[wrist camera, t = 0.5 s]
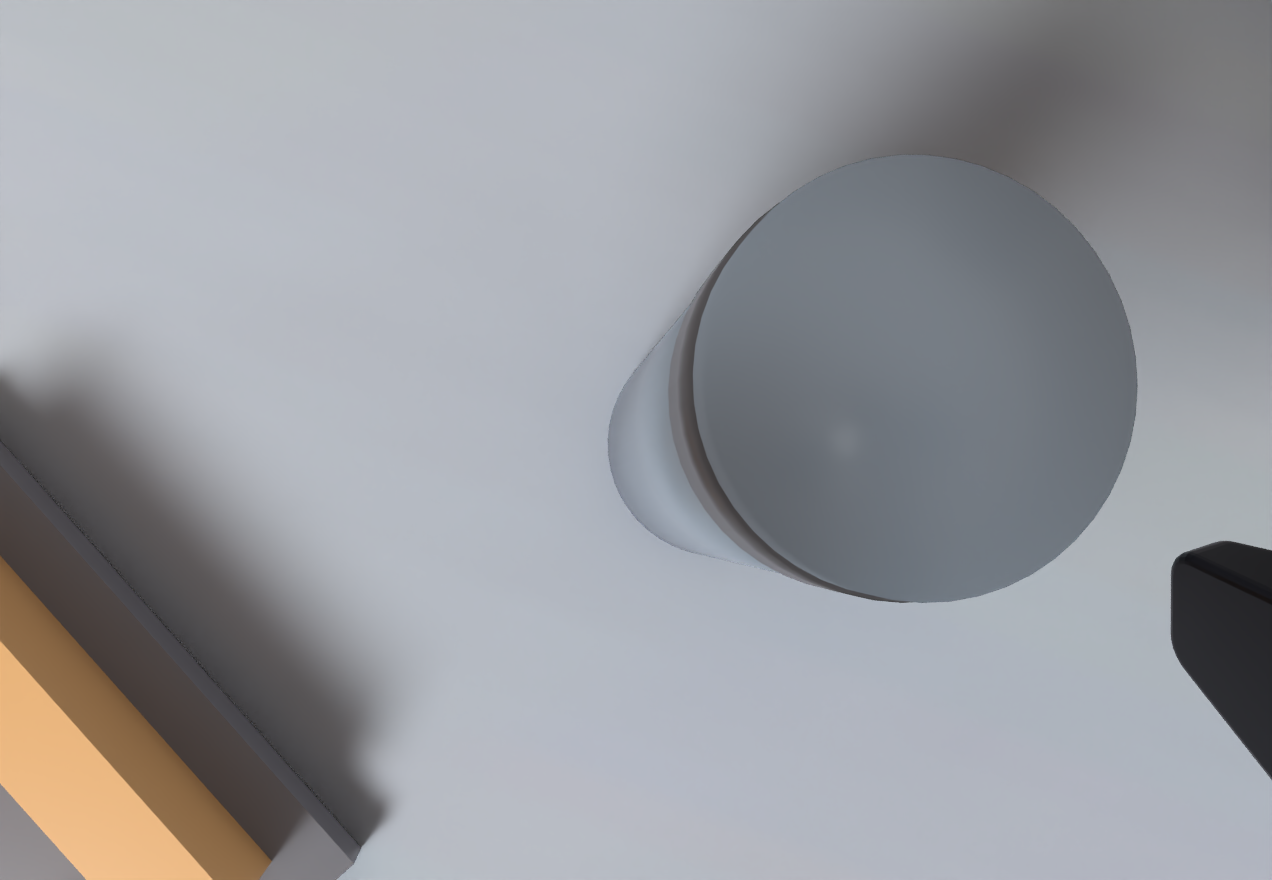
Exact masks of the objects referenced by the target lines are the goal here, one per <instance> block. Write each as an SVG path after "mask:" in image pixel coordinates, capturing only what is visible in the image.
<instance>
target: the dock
mask: <svg viewBox="0 0 1272 880" xmlns="http://www.w3.org/2000/svg"><path fill="white" fill-rule="evenodd" d="M360 849H361V847H360V846H359V845H358V844H357V842H356V841H355V840H354V839H353V838H352V837H351V836H350V835H349V833H348V832H347V831H346V830H345V829H344V828H343V827H342V826H341V824H340V823H339V822H338V821H337V820H336V819H335V818H334V817H333V815H332V814H331V813H330V812H329V811H328V810H327V809H326V808H325V806H324V805H323V804H322V803H321V802H320V801H319V800H318V798H317V797H316V796H315V795H314V794H313V793H312V792H311V791H310V789H309V788H308V787H307V786H306V785H305V784H304V783H303V782H302V780H301V779H300V778H299V777H298V776H297V775H296V774H295V773H294V771H293V770H292V769H291V768H290V767H289V766H288V765H287V763H286V762H285V761H284V760H283V759H282V758H281V757H280V756H279V754H278V753H277V752H276V751H275V750H274V749H273V748H272V747H271V745H270V744H269V743H268V742H267V741H266V740H265V739H264V738H263V736H262V735H261V734H260V733H259V732H258V731H257V730H256V729H255V727H254V726H253V725H252V724H251V723H250V722H249V721H248V719H247V718H246V717H245V716H244V715H243V714H242V713H241V712H240V710H239V709H238V708H237V707H236V706H235V705H234V704H233V703H232V701H231V700H230V699H229V698H228V697H227V696H226V695H225V694H224V692H223V691H222V690H221V689H220V688H219V687H218V686H217V684H216V683H215V682H214V681H213V680H212V679H211V678H210V677H209V675H208V674H207V673H206V672H205V671H204V670H203V669H202V668H201V666H200V665H199V664H198V663H197V662H196V661H195V660H194V659H193V657H192V656H191V655H190V654H189V653H188V652H187V651H186V650H185V648H184V647H183V646H182V645H181V644H180V643H179V642H178V640H177V639H176V638H175V637H174V636H173V635H172V634H171V633H170V631H169V630H168V629H167V628H166V627H165V626H164V625H163V624H162V622H161V621H160V620H159V619H158V618H157V617H156V616H155V615H154V613H153V612H152V611H151V610H150V609H149V608H148V607H147V605H146V604H145V603H144V602H143V601H142V600H141V599H140V598H139V596H138V595H137V594H136V593H135V592H134V591H133V590H132V589H131V587H130V586H129V585H128V584H127V583H126V582H125V581H124V580H123V578H122V577H121V576H120V575H119V574H118V573H117V572H116V570H115V569H114V568H113V567H112V566H111V565H110V564H109V563H108V561H107V560H106V559H105V558H104V557H103V556H102V555H101V554H100V552H99V551H98V550H97V549H96V548H95V547H94V546H93V545H92V543H91V542H90V541H89V540H88V539H87V538H86V537H85V536H84V534H83V533H82V532H81V531H80V530H79V529H78V528H77V526H76V525H75V524H74V523H73V522H72V521H71V520H70V519H69V517H68V516H67V515H66V514H65V513H64V512H63V511H62V510H61V508H60V507H59V506H58V505H57V504H56V503H55V502H54V501H53V499H52V498H51V497H50V496H49V495H48V494H47V493H46V491H45V490H44V489H43V488H42V487H41V486H40V485H39V484H38V482H37V481H36V480H35V479H34V478H33V477H32V476H31V475H30V473H29V472H28V471H27V470H26V469H25V468H24V467H23V466H22V464H21V463H20V462H19V461H18V460H17V459H16V458H15V457H14V455H13V454H12V453H11V452H10V451H9V450H8V449H7V447H6V446H5V445H4V444H3V443H2V442H1V441H0V880H336V879H337V878H339V877H340V876H341V875H342V874H343V873H344V872H345V871H346V870H347V869H349V868H350V867H351V866H352V865H353V864H354V862H355V860H356V858H357V856H358V854H359V852H360Z"/></svg>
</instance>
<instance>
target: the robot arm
mask: <svg viewBox="0 0 1272 880" xmlns="http://www.w3.org/2000/svg"><path fill="white" fill-rule="evenodd" d="M1171 640H1172V645H1173V649H1174V651H1175V654H1176V656H1177V658H1178V660H1179V662H1180V663H1181V665H1182V666H1183V668H1184V669H1185V671H1186V672H1187V673H1188V674H1189V676H1190V677H1191V678H1192V679H1193V681H1194V682H1195V683H1196V685H1197V686H1198V687H1199V688H1200V690H1201V691H1202V692H1203V693H1204V695H1205V696H1206V697H1207V698H1208V700H1209V701H1210V702H1211V704H1212V705H1213V706H1214V707H1215V709H1216V710H1217V711H1218V712H1219V714H1220V715H1221V716H1222V717H1223V719H1224V720H1225V721H1226V723H1227V724H1228V725H1229V726H1230V728H1231V729H1232V730H1233V731H1234V733H1235V734H1236V735H1237V736H1238V738H1239V739H1240V740H1241V741H1242V743H1243V744H1244V745H1245V747H1246V748H1247V749H1248V750H1249V752H1250V753H1251V754H1252V755H1253V757H1254V758H1255V759H1256V760H1257V762H1258V763H1259V764H1260V766H1261V767H1262V768H1263V769H1264V771H1265V772H1266V773H1267V774H1268V776H1269V777H1270V778H1271V779H1272V550H1267V549H1263V548H1258V547H1254V546H1250V545H1245V544H1241V543H1236V542H1231V541H1219V542H1215V543H1212V544H1209V545H1206V546H1203V547H1200V548H1197V549H1193V550H1190V551H1187V552H1184V553H1183V554H1181V555H1180V556H1178V557H1177V558H1176V559H1175V561H1174V563H1173V566H1172V570H1171Z"/></svg>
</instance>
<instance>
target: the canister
mask: <svg viewBox="0 0 1272 880" xmlns="http://www.w3.org/2000/svg"><path fill="white" fill-rule="evenodd" d="M1136 401H1137V370H1136V356H1135V351H1134V345H1133V340H1132V335H1131V329H1130V326H1129V323H1128V320H1127V316H1126V313H1125V310H1124V307H1123V304H1122V301H1121V299H1120V297H1119V294H1118V292H1117V290H1116V288H1115V286H1114V284H1113V281H1112V279H1111V277H1110V275H1109V273H1108V272H1107V270H1106V268H1105V267H1104V265H1103V264H1102V262H1101V260H1100V259H1099V257H1098V256H1097V254H1096V252H1095V251H1094V249H1093V248H1092V247H1091V246H1090V244H1089V243H1088V242H1087V241H1086V239H1085V238H1084V237H1083V236H1082V234H1081V233H1080V232H1079V231H1078V229H1077V228H1076V227H1075V226H1074V225H1073V224H1072V223H1071V222H1070V221H1069V220H1068V219H1067V218H1065V217H1064V216H1063V215H1062V214H1061V213H1060V212H1059V211H1058V210H1057V209H1056V208H1055V207H1054V206H1052V205H1051V204H1050V203H1048V202H1047V201H1046V200H1044V199H1043V198H1042V197H1040V196H1039V195H1038V194H1036V193H1035V192H1034V191H1032V190H1030V189H1029V188H1027V187H1025V186H1024V185H1022V184H1020V183H1018V182H1017V181H1015V180H1013V179H1011V178H1010V177H1008V176H1005V175H1003V174H1000V173H998V172H995V171H993V170H991V169H988V168H986V167H983V166H980V165H977V164H973V163H969V162H966V161H962V160H958V159H954V158H946V157H939V156H931V155H894V156H887V157H879V158H872V159H868V160H864V161H861V162H857V163H853V164H850V165H846V166H843V167H841V168H838V169H836V170H834V171H831V172H829V173H827V174H824V175H822V176H820V177H817V178H816V179H814V180H812V181H811V182H809V183H807V184H806V185H804V186H802V187H801V188H799V189H797V190H796V191H794V192H793V193H792V194H790V195H789V196H788V197H787V198H785V199H784V200H783V201H781V202H780V203H778V204H777V205H776V206H774V207H773V208H772V209H771V210H769V211H768V212H767V213H766V214H764V215H763V216H762V217H761V218H759V219H758V220H757V221H756V222H755V223H754V224H753V225H752V226H751V227H750V228H749V229H748V230H747V231H746V232H745V233H744V234H743V235H742V236H741V238H740V239H739V240H738V241H737V242H736V243H735V244H734V246H733V247H732V248H731V249H730V250H729V252H728V253H727V254H726V255H725V257H724V258H723V259H722V260H721V262H720V263H719V264H718V265H717V267H716V268H715V269H714V270H713V272H712V273H711V274H710V276H709V277H708V278H707V280H706V281H705V282H704V284H703V285H702V287H701V288H700V289H699V291H698V292H697V294H696V296H695V297H694V299H693V301H692V303H691V304H690V305H689V307H688V308H687V309H686V310H685V312H684V313H683V314H682V315H681V316H680V318H679V319H678V320H677V321H676V322H675V324H674V325H673V326H672V327H671V328H670V330H669V331H668V332H667V333H666V334H665V336H664V337H663V338H662V339H661V340H660V342H659V343H658V344H657V345H656V346H655V348H654V349H653V350H652V351H651V352H650V354H649V355H648V356H647V357H646V359H645V360H644V361H643V362H642V363H641V365H640V366H639V367H638V368H637V369H636V371H635V372H634V373H633V374H632V376H631V377H630V378H629V380H628V381H627V383H626V384H625V385H624V387H623V389H622V391H621V393H620V395H619V397H618V398H617V401H616V404H615V406H614V409H613V412H612V416H611V420H610V425H609V433H608V456H609V462H610V468H611V472H612V475H613V479H614V482H615V485H616V487H617V489H618V491H619V494H620V496H621V498H622V499H623V501H624V503H625V504H626V506H627V507H628V509H629V510H630V511H631V513H632V514H633V515H634V516H635V518H636V519H637V520H638V521H639V522H640V523H641V524H642V525H643V526H644V527H645V528H646V529H647V530H648V531H650V532H651V533H653V534H654V535H655V536H657V537H658V538H660V539H661V540H663V541H665V542H667V543H669V544H670V545H672V546H675V547H677V548H680V549H683V550H685V551H689V552H693V553H697V554H701V555H705V556H709V557H714V558H718V559H722V560H726V561H730V562H735V563H739V564H743V565H747V566H751V567H755V568H760V569H764V570H768V571H772V572H776V573H781V574H782V575H785V576H787V577H790V578H793V579H795V580H798V581H801V582H803V583H806V584H809V585H813V586H817V587H821V588H825V589H829V590H833V591H837V592H841V593H845V594H849V595H853V596H858V597H862V598H866V599H871V600H877V601H888V602H899V603H906V602H919V603H927V602H949V601H955V600H961V599H966V598H972V597H977V596H981V595H984V594H987V593H990V592H993V591H996V590H999V589H1002V588H1005V587H1007V586H1009V585H1011V584H1013V583H1015V582H1017V581H1019V580H1021V579H1023V578H1025V577H1028V576H1030V575H1031V574H1033V573H1034V572H1036V571H1037V570H1039V569H1040V568H1042V567H1043V566H1045V565H1046V564H1048V563H1049V562H1051V561H1052V560H1054V559H1055V558H1056V557H1057V556H1058V555H1059V554H1061V553H1062V552H1063V551H1064V550H1065V549H1066V548H1067V547H1068V546H1070V545H1071V544H1072V543H1073V542H1074V541H1075V540H1076V539H1077V538H1078V537H1079V536H1080V534H1081V533H1082V532H1083V531H1084V530H1085V529H1086V527H1087V526H1088V525H1089V524H1090V523H1091V521H1092V520H1093V519H1094V518H1095V516H1096V515H1097V513H1098V512H1099V510H1100V509H1101V507H1102V505H1103V504H1104V502H1105V501H1106V499H1107V498H1108V496H1109V495H1110V493H1111V490H1112V488H1113V486H1114V484H1115V482H1116V480H1117V478H1118V476H1119V474H1120V471H1121V469H1122V466H1123V463H1124V460H1125V457H1126V454H1127V451H1128V448H1129V445H1130V442H1131V436H1132V431H1133V426H1134V420H1135V415H1136Z"/></svg>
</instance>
